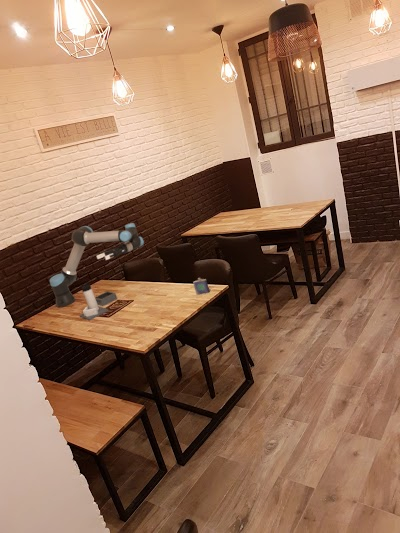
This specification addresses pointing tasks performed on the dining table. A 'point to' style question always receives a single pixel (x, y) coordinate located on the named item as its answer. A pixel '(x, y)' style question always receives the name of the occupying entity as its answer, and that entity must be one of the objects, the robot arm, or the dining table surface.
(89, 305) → the travel mug
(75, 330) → the dining table surface
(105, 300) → the sleeve
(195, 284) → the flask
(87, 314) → the V-cradle
